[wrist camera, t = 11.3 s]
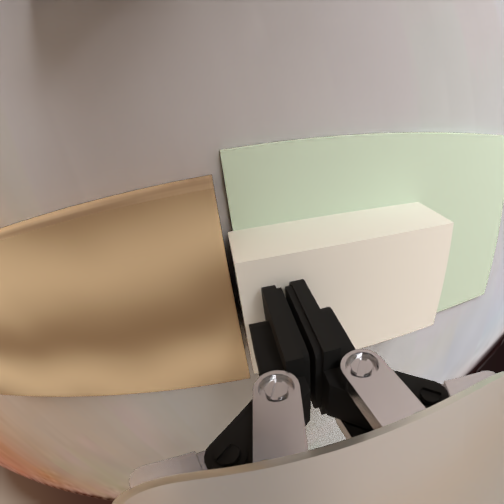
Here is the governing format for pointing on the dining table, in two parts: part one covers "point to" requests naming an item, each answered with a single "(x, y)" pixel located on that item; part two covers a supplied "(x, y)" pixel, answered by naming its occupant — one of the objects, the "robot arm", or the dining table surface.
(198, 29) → the dining table surface
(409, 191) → the mat
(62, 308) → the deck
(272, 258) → the cream rectangular block
